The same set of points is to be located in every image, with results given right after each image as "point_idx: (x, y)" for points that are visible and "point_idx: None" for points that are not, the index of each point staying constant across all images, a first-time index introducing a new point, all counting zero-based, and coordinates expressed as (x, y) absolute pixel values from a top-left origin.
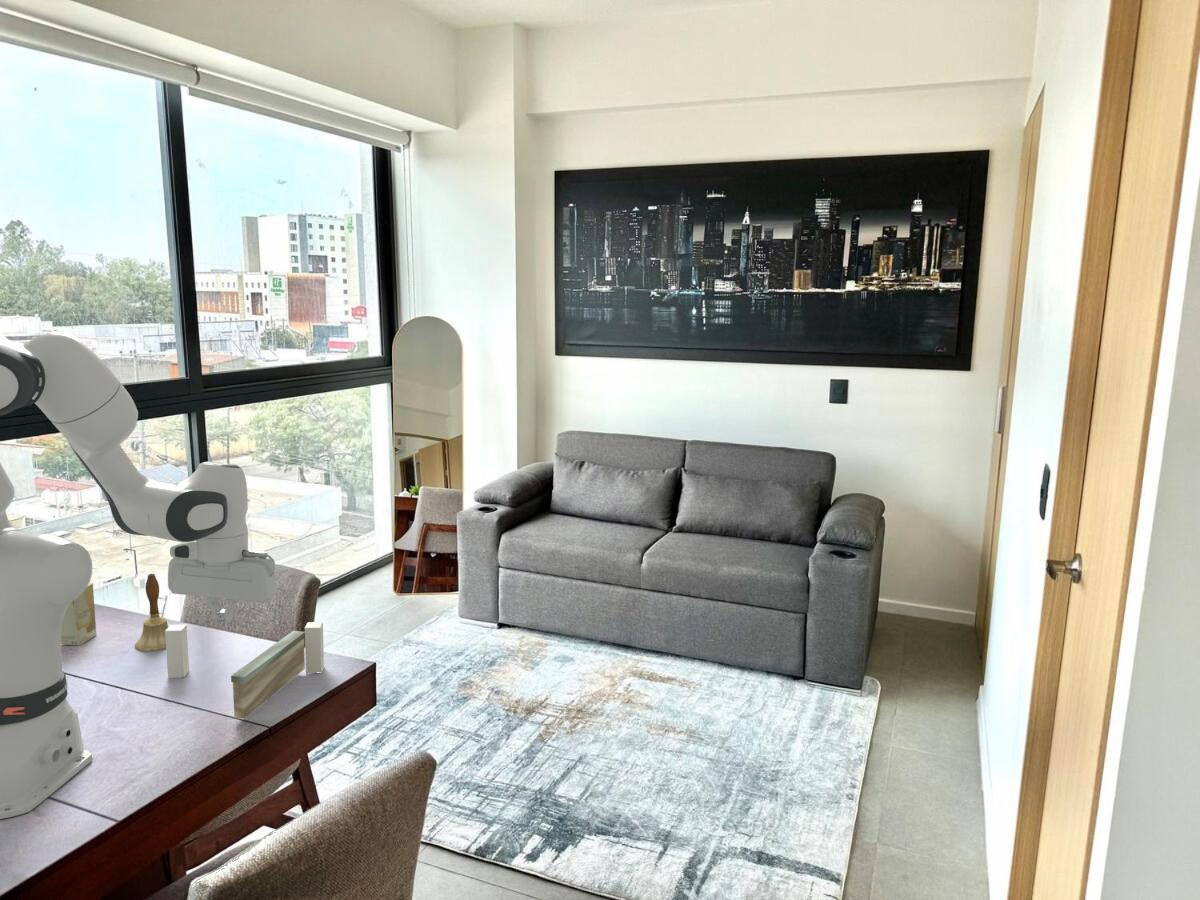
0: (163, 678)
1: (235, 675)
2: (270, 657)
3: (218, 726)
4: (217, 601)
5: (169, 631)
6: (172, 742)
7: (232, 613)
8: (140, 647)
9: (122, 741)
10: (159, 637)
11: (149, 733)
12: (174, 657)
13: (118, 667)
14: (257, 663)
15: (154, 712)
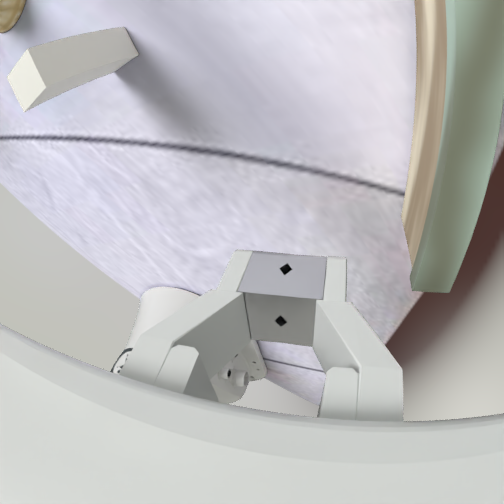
0: (107, 77)
1: (423, 288)
2: (490, 165)
3: (373, 224)
4: (189, 343)
5: (31, 104)
6: None
7: (346, 288)
8: (2, 31)
9: None
10: (1, 6)
11: None
12: (91, 75)
13: None
14: (463, 214)
15: (211, 197)
